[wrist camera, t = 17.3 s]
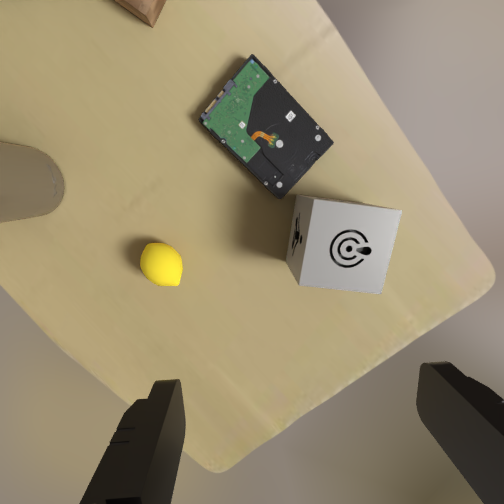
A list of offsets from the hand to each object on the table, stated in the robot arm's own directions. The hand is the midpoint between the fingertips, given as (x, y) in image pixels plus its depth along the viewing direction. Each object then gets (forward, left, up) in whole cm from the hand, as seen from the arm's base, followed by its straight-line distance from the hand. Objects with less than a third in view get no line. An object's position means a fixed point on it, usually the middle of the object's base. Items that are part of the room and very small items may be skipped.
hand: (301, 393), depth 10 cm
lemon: (-13, -4, -33) cm, 36 cm away
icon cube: (+10, -1, -33) cm, 35 cm away
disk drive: (+2, +13, -34) cm, 36 cm away
